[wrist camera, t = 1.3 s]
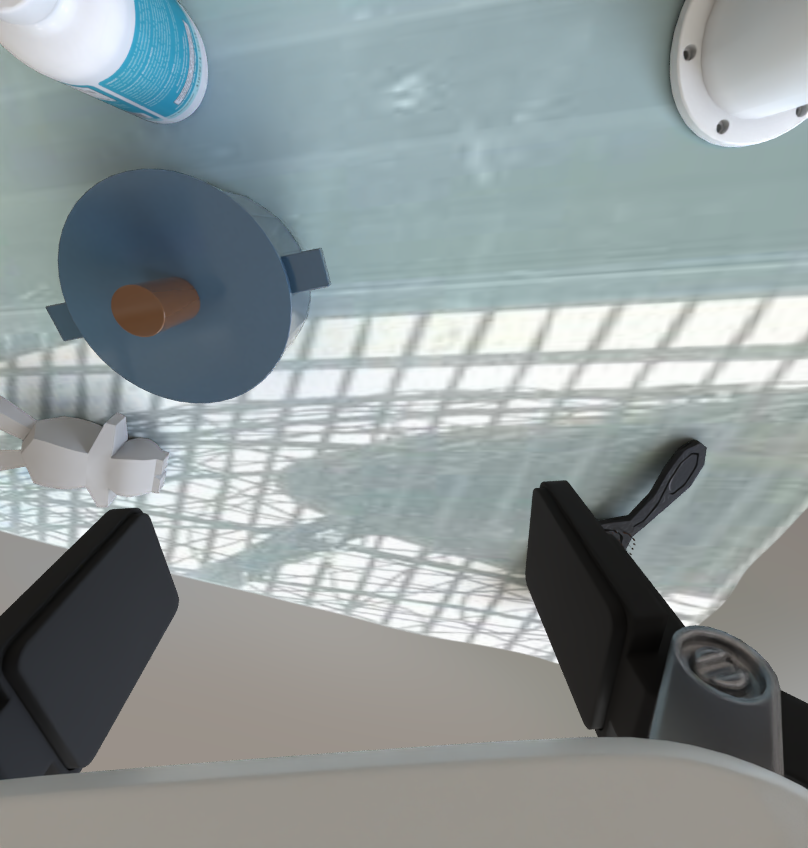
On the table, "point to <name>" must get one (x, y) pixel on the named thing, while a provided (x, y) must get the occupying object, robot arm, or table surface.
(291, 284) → the canister
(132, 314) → the lid
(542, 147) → the table surface
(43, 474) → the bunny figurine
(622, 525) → the hairbrush
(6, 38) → the pill bottle
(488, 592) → the table surface
